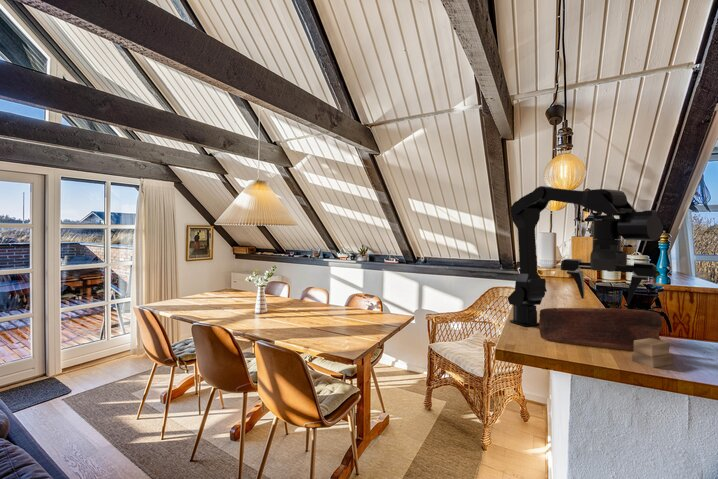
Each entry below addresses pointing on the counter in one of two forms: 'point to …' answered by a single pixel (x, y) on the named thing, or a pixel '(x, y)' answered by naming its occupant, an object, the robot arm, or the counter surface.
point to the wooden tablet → (599, 326)
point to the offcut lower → (652, 359)
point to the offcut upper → (651, 347)
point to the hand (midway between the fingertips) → (604, 301)
